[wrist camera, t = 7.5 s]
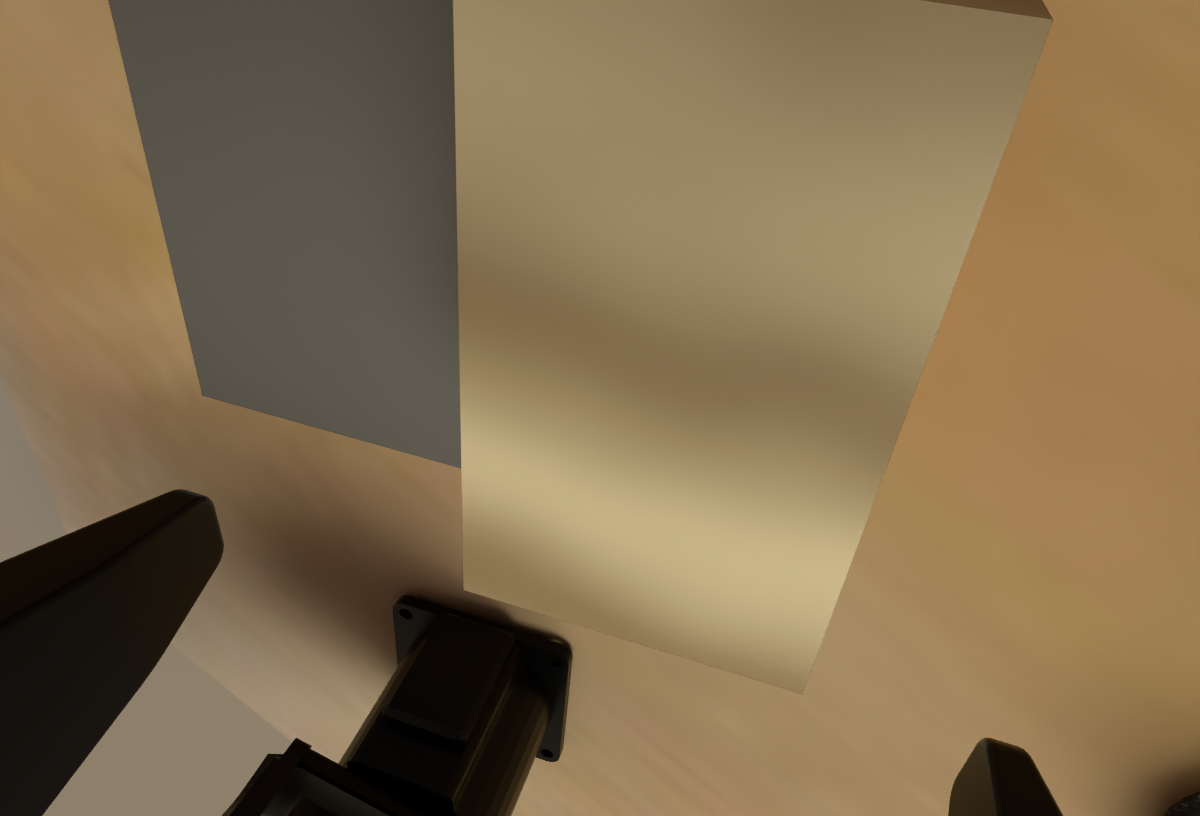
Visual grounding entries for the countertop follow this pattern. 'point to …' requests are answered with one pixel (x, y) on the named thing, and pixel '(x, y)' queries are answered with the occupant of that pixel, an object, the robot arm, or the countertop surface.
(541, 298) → the beige block on tray
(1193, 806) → the salt shaker
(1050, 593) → the countertop surface
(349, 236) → the mat
